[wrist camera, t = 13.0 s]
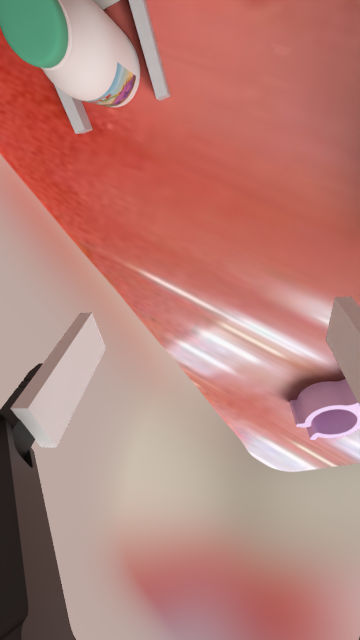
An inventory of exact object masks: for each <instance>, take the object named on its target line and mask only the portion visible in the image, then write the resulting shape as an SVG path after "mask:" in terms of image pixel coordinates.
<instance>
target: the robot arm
mask: <svg viewBox="0 0 360 640" xmlns="http://www.w3.org/2000/svg"><path fill="white" fill-rule="evenodd" d="M326 341H327V343H328V345H329V347H330V349H331V351H332V353H333V355H334V357H335V359H336V361H337V363H338V365H339V367H340V369H341V370H342V372H343V374H344V376H345V378H346V380H347V382H348V384H349V386H350V388H351V390H352V392H353V394H354V396H355V397H356V399H357V401H358V403H359V405H360V307H359V305H358V304H357V303H356V302H355V300H354V299H353V298H352V297H336V298H335V299H334V304H333V308H332V313H331V318H330V322H329V327H328V332H327V336H326ZM105 349H106V347H105V345H104V342H103V339H102V337H101V334H100V332H99V330H98V327H97V324H96V322H95V319H94V316H93V314H92V313H80V314H79V315H78V317H77V318H76V319H75V321H74V322H73V324H72V325H71V326H70V328H69V329H68V330H67V332H66V333H65V334H64V336H63V337H62V339H61V340H60V341H59V343H58V344H57V346H56V347H55V348H54V350H53V351H52V352H51V354H50V355H49V356H48V358H47V359H46V360H45V362H44V363H43V364H38V365H37V366H36V367H35V368H33V369H32V370H31V371H30V372H29V373H28V374H27V375H26V377H25V378H24V381H22V382H21V384H20V385H19V386H18V388H17V389H16V390H15V391H14V393H13V394H12V395H11V396H10V398H9V399H8V401H7V402H6V403H5V404H4V406H3V407H2V408H1V410H0V640H76V639H75V637H74V635H73V633H72V630H71V627H70V623H69V618H68V613H67V609H66V604H65V599H64V594H63V590H62V584H61V580H60V576H59V570H58V565H57V560H56V556H55V551H54V546H53V542H52V537H51V532H50V527H49V522H48V518H47V512H46V508H45V503H44V498H43V493H42V488H41V484H40V479H39V474H38V469H37V465H36V460H35V455H34V451H33V449H32V448H31V446H32V444H33V442H34V441H35V440H36V442H38V444H39V445H40V447H54V448H56V447H57V445H58V443H59V441H60V439H61V437H62V435H63V433H64V431H65V429H66V427H67V425H68V423H69V421H70V419H71V417H72V415H73V413H74V411H75V409H76V407H77V405H78V403H79V401H80V399H81V397H82V395H83V393H84V391H85V389H86V387H87V385H88V383H89V381H90V379H91V377H92V375H93V373H94V371H95V369H96V367H97V365H98V363H99V361H100V359H101V357H102V355H103V353H104V351H105ZM359 640H360V638H359Z"/></svg>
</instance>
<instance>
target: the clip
mask: <svg viewBox="0 0 360 640" xmlns="http://www.w3.org/2000/svg"><path fill="white" fill-rule="evenodd" d="M290 405H291V409H292V412H293V416H294V419H295V423H296V426H297V427H307V430H308V433H309V437H310V439H311V440H315V439H316V438H317V437H323V438H336V437H342V436H346V435H348V434H351V433H353V432H355V431H356V430H358V429H359V428H360V405H359V403H358V401H357V399H356V397H355V396H354V394H353V392H352V390H351V388H350V386H349V384H348V382H347V380H346V378H345V379H344V380H341V381H336V382H333V381H325V382H319V383H315V384H312V385H310V386H308V387H306V388H305V389H304V390H302V391H301V393H300V394H299V396H298V398H297V400H290Z"/></svg>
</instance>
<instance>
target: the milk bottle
mask: <svg viewBox="0 0 360 640" xmlns="http://www.w3.org/2000/svg"><path fill="white" fill-rule="evenodd" d="M0 27H1V30H2V32H3V35H4V37H5V39H6V40H7V42H8V44H9V45H10V47H11V48H12V49H13V50H14V52H15V53H16V54H17V55H18V56H19V57H20V58H21V59H23V60H24V61H26V62H27V63H29V64H31V65H33V66H36V67H40V68H42V70H43V71H44V73H45V74H46V75H47V77H48V78H49V79H50V80H51V82H52V83H53V84H54V85H55V86H57V87H58V88H59V89H60V90H61V91H63V92H64V93H66V94H67V95H69V96H71V97H73V98H76V99H79V100H81V101H85V102H89V103H93V104H98V105H102V106H107V107H121V106H123V105H125V104H127V103H128V102H129V101H130V100H131V99H132V98H133V97H134V95H135V93H136V91H137V89H138V86H139V81H140V64H139V59H138V55H137V52H136V50H135V48H134V46H133V44H132V43H131V41H130V40H129V38H128V37H127V36H126V35H125V33H124V32H123V31H122V30H121V29H120V28H119V27H118V26H117V25H116V24H115V22H114V21H113V20H112V19H111V18H110V17H109V16H108V15H107V14H106V13H105V12H104V11H103V10H102V9H101V8H100V7H99V6H98V5H97V4H96V3H95V2H93V1H92V0H0Z"/></svg>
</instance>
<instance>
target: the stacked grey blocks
mask: <svg viewBox="0 0 360 640" xmlns="http://www.w3.org/2000/svg"><path fill="white" fill-rule="evenodd" d="M92 1H93V2H95V3H96V4H97V5H98V6H99V7H100V8H101V9H102V10H104V9H106V8H108V7H109V6H111V5H113V4H115V3H117V2H119V1H120V0H92ZM129 3H130V7H131V11H132V14H133V18H134V21H135V25H136V28H137V32H138V35H139V39H140V42H141V46H142V49H143V53H144V57H145V60H146V64H147V67H148V71H149V74H150V78H151V81H152V85H153V88H154V92H155V95H156V99H158V100H160V101H161V100H163V99H166V98H168V97H170V92H169V88H168V84H167V81H166V77H165V73H164V69H163V65H162V61H161V57H160V54H159V50H158V46H157V42H156V38H155V34H154V30H153V27H152V23H151V19H150V15H149V11H148V7H147V3H146V0H129ZM55 88H56V90H57V92H58V95H59V97H60V99H61V101H62V104H63V106H64V108H65V111H66V113H67V115H68V117H69V120H70V122H71V124H72V127H73V129H74V131H75V133H76V134H79V133H86V132H88V131H91V130H93V129H92V126H91V124H90V121H89V119H88V116H87V114H86V111H85V109H84V106H83V104H82V101H81V100H79V99H76V98H73V97H71V96H69V95H67V94H66V93H64V92H63V91H61V90H60V89H59V88H58V87H57V86H55Z"/></svg>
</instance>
